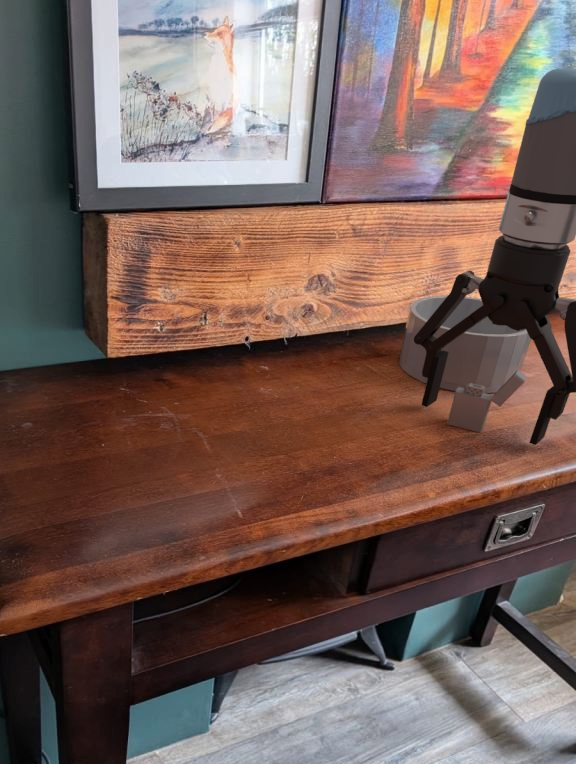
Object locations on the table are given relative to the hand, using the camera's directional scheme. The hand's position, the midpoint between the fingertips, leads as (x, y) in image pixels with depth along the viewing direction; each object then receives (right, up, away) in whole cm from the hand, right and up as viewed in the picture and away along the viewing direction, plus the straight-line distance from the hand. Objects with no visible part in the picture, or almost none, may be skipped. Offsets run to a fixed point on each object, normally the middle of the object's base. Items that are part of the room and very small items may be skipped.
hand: (480, 421), depth 90 cm
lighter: (0, -1, +1) cm, 1 cm away
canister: (+3, +9, +16) cm, 19 cm away
